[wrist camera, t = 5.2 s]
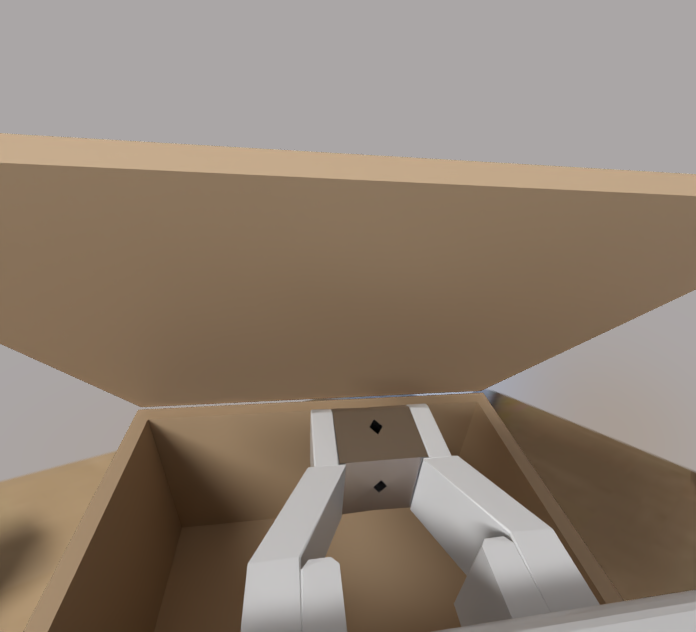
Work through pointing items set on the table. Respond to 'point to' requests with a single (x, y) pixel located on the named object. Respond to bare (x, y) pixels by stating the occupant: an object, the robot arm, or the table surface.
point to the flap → (320, 266)
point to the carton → (269, 523)
